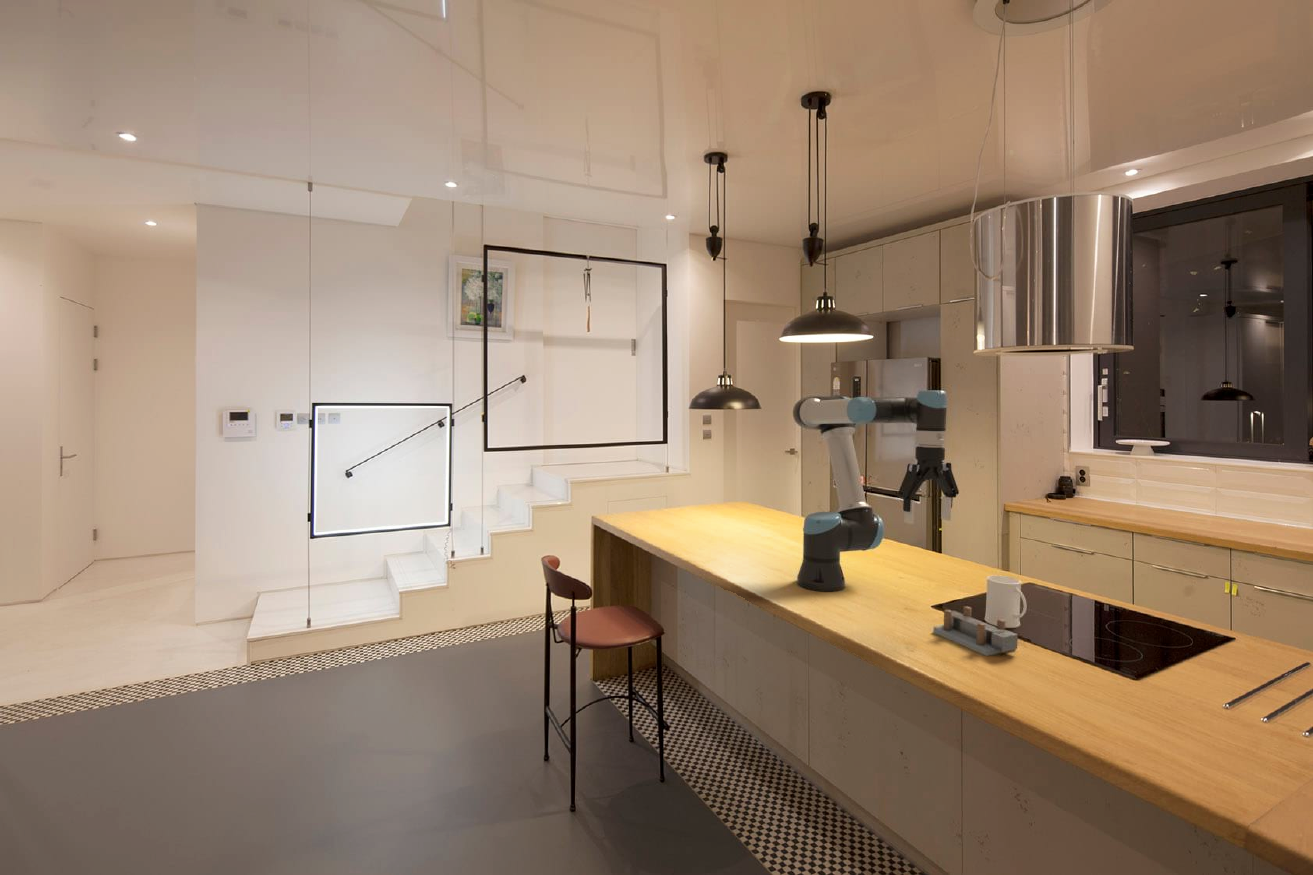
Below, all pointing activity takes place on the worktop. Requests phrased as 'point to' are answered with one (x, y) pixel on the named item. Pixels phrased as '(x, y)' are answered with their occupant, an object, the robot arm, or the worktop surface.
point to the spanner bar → (992, 634)
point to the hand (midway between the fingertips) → (927, 521)
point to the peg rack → (966, 640)
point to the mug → (1004, 600)
